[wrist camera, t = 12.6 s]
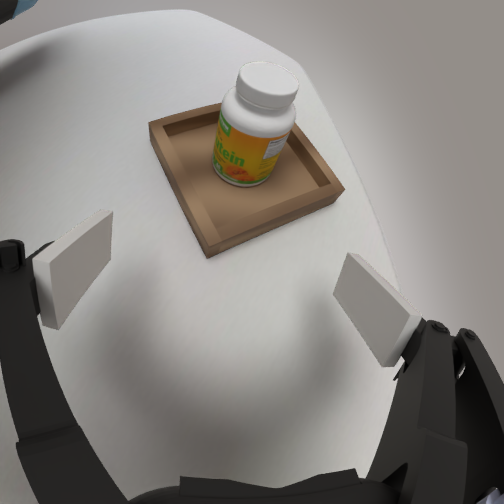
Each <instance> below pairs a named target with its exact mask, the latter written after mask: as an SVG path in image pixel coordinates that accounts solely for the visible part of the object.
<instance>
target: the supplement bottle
mask: <svg viewBox="0 0 504 504" xmlns="http://www.w3.org/2000/svg"><path fill="white" fill-rule="evenodd" d="M298 88H299V82H298V79H297V78H296V77H295V75H294V74H293V73H291V72H290V71H289V70H287V69H286V68H284V67H282V66H280V65H277V64H274V63H270V62H263V61H256V62H250V63H247V64H245V65H243V66H242V67H241V69H240V71H239V74H238V77H237V81H236V86H234V87H233V88H231V89H230V90H229V91H228V92H227V93H226V94H225V96H224V98H223V101H222V104H221V109H220V115H219V121H218V127H217V131H216V138H215V143H214V149H213V156H212V163H213V167H214V169H215V171H216V172H217V174H218V175H219V176H220V177H221V178H222V179H224V180H225V181H227V182H228V183H231V184H233V185H237V186H242V187H250V186H255V185H258V184H260V183H262V182H263V181H265V180H266V179H267V178H268V177H269V175H270V173H271V172H272V170H273V168H274V166H275V163H276V161H277V159H278V157H279V155H280V153H281V150H282V148H283V146H284V144H285V142H286V140H287V137H288V135H289V133H290V131H291V129H292V127H293V125H294V122H295V119H296V110H295V106H294V104H293V101H294V99H295V96H296V94H297V91H298Z"/></svg>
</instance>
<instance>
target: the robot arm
mask: <svg viewBox="0 0 504 504" xmlns="http://www.w3.org/2000/svg"><path fill="white" fill-rule="evenodd" d="M37 1H38V0H0V25H1V24H2V23H4V22H6V21H8V20H10V19H11V20H12V19H13V18H15V16H17V15H19V14H20V13H22V12H24V11H26V10H28V9H30V8H31V7H33V6H34V5H35V3H36V2H37ZM112 220H113V211H106V210H99V211H98V212H96V213H94V214H93V215H91V216H90V217H89V218H87V219H86V220H84V221H83V222H81V223H80V224H78V225H77V226H75V227H74V228H73V229H71V230H70V231H68V232H67V233H66V234H64V235H63V236H61V237H60V238H59V239H57V240H56V241H52V242H50V243H47V244H45V245H43V246H42V247H41V248H39V250H37V251H35V252H34V254H31V255H30V256H29V257H27V258H26V259H25V248H24V243H23V242H22V241H20V240H15V239H10V240H4V241H1V242H0V362H1V368H2V374H3V380H4V385H5V389H6V394H7V398H8V403H9V407H10V410H11V414H12V418H13V421H14V425H15V428H16V431H17V434H18V438H19V442H17V443H16V449H17V453H18V456H19V459H20V462H21V464H22V467H23V469H24V472H25V474H26V477H27V479H28V481H29V484H30V486H31V488H32V490H33V492H34V494H35V496H36V499H37V501H38V503H39V504H504V384H503V382H502V380H501V378H500V376H499V374H498V372H497V370H496V368H495V366H494V364H493V362H492V360H491V358H490V357H489V355H488V353H487V351H486V349H485V348H484V346H483V344H482V342H481V341H480V339H479V338H478V336H477V335H476V334H475V333H474V332H473V331H471V330H468V329H465V328H461V329H460V330H459V332H458V334H457V336H456V337H454V336H451V335H450V332H449V330H448V328H446V327H445V326H444V325H443V324H442V323H440V322H437V321H434V320H428V321H427V322H426V321H425V320H424V319H423V318H422V316H423V315H422V314H421V313H420V312H419V311H418V310H417V309H416V308H415V307H414V306H413V305H412V304H411V303H409V302H408V300H407V299H406V298H404V297H403V296H402V295H401V294H400V293H399V292H398V291H397V290H396V289H395V288H394V287H393V286H392V285H391V284H390V283H389V282H388V281H387V280H386V279H385V278H384V277H382V276H381V275H380V274H379V273H378V272H377V271H376V270H375V269H374V268H373V267H372V266H371V265H369V264H368V263H367V262H366V261H365V260H364V259H363V258H362V257H361V256H360V255H358V254H353V253H347V256H346V259H345V261H344V264H343V267H342V270H341V273H340V276H339V278H338V281H337V284H336V287H335V289H334V292H333V295H334V296H335V298H336V299H337V301H338V302H339V304H340V305H341V306H342V308H343V309H344V311H345V312H346V314H347V315H348V317H349V318H350V320H351V321H352V323H353V324H354V326H355V327H356V329H357V330H358V332H359V333H360V334H361V336H362V337H363V339H364V341H365V342H366V344H367V345H368V347H369V348H370V350H371V351H372V353H373V354H374V356H375V357H376V359H377V360H378V362H379V363H380V365H381V367H394V366H395V365H396V363H397V362H398V360H399V358H400V357H401V356H402V357H403V359H404V360H405V362H404V363H403V365H402V366H401V368H400V370H399V371H398V373H397V374H396V376H395V377H394V379H393V380H394V381H395V380H396V379H397V378H398V381H397V386H396V390H395V394H394V397H393V401H392V405H391V408H390V412H389V415H388V418H387V422H386V425H385V428H384V431H383V434H382V437H381V440H380V443H379V446H378V449H377V451H376V454H375V457H374V460H373V462H372V465H371V467H370V470H369V472H368V474H367V476H366V478H365V479H364V478H359V477H358V475H357V472H356V469H355V468H353V469H348V470H343V471H338V472H332V473H325V474H319V475H316V476H314V477H311V478H308V479H306V480H303V481H300V482H297V483H294V484H292V485H289V486H285V487H282V488H269V487H262V486H257V485H251V484H246V483H241V482H237V481H232V480H225V479H206V478H193V477H183V476H180V486H173V487H166V488H160V489H156V490H153V491H149V492H146V493H144V494H141V495H139V496H137V497H135V498H133V499H131V500H130V501H128V500H127V499H126V498H125V496H124V495H123V494H122V492H121V491H120V490H119V488H118V487H117V485H116V484H115V483H114V481H113V480H112V478H111V477H110V475H109V474H108V472H107V471H106V469H105V468H104V466H103V465H102V463H101V461H100V460H99V458H98V457H97V455H96V453H95V452H94V450H93V448H92V446H91V445H90V443H89V441H88V439H87V438H86V436H85V434H84V432H83V430H82V429H81V427H80V426H79V425H78V423H77V422H76V420H75V418H74V416H73V414H72V411H71V409H70V407H69V405H68V403H67V401H66V398H65V396H64V394H63V391H62V389H61V387H60V384H59V382H58V379H57V377H56V374H55V371H54V369H53V366H52V363H51V361H50V358H49V355H48V352H47V349H46V346H45V343H44V339H43V336H42V333H41V329H40V326H39V322H38V318H37V316H38V314H39V313H40V315H41V320H42V325H43V326H46V327H49V328H53V329H56V330H59V329H60V327H61V326H62V324H63V323H64V321H65V320H66V318H67V317H68V316H69V314H70V313H71V311H72V310H73V309H74V307H75V306H76V304H77V303H78V302H79V300H80V299H81V297H82V296H83V295H84V293H85V292H86V291H87V289H88V288H89V287H90V285H91V284H92V283H93V281H94V280H95V279H96V278H97V276H98V275H99V274H100V272H101V271H102V270H103V269H104V267H105V266H106V265H107V264H108V262H109V261H110V260H111V237H112ZM464 367H465V370H464V372H463V374H462V375H461V377H460V378H459V374H460V373H461V371H462V370H463V368H464ZM496 488H498V489H496Z"/></svg>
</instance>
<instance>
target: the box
mask: <svg viewBox="0 0 504 504" xmlns="http://www.w3.org/2000/svg"><path fill="white" fill-rule="evenodd" d="M221 104H222V103H218V104H214V105H209V106H205V107H201V108H197V109H193V110H189V111H185V112H182V113H178V114H174V115H171V116H167V117H164V118H161V119H158V120H154V121H151V122H148V123H149V134H150V141H151V144H152V146H153V148H154V150H155V152H156V155H157V157H158V159H159V161H160V163H161V166H162V168H163V170H164V172H165V174H166V176H167V178H168V181H169V183H170V185H171V187H172V189H173V191H174V193H175V195H176V197H177V199H178V202H179V204H180V206H181V208H182V210H183V212H184V214H185V216H186V218H187V220H188V222H189V224H190V226H191V228H192V230H193V232H194V234H195V236H196V238H197V240H198V242H199V244H200V246H201V248H202V250H203V252H204V254H205V256H206V258H209V257H212V256H214V255H216V254H218V253H221V252H223V251H225V250H227V249H230V248H232V247H234V246H236V245H239V244H241V243H243V242H245V241H248V240H250V239H252V238H254V237H257V236H259V235H261V234H263V233H266V232H268V231H270V230H273V229H275V228H277V227H279V226H282V225H284V224H286V223H288V222H291V221H293V220H295V219H298V218H300V217H302V216H305V215H307V214H309V213H311V212H314V211H316V210H318V209H321V208H323V207H325V206H328V205H330V204H332V203H334V202H335V200H336V199H337V198H338V197H339V196H340V195H341V194H342V193H343V191H344V190H345V188H344V187H343V186H342V184H341V183H340V181H339V180H338V178H337V177H336V176H335V174H334V173H333V171H332V170H331V169H330V167H329V166H328V164H327V163H326V162H325V160H324V159H323V158H322V156H321V155H320V154H319V152H318V151H317V150H316V148H315V147H314V146H313V145H312V143H311V142H310V141H309V139H308V138H307V137H306V136H305V134H304V133H303V132H302V130H301V129H300V128H299V127H298V126H297V124H296V123H295V122H294V125H293V127H292V129H291V131H290V133H289V135H288V137H287V140H286V142H285V144H284V146H283V148H282V150H281V153H280V155H279V157H278V159H277V161H276V163H275V166H274V168H273V170H272V172H271V173H270V175H269V177H268V178H267V179H266V180H265V181H263V182H262V183H260V184H258V185H255V186H250V187H242V186H237V185H233V184H231V183H228V182H227V181H225V180H224V179H222V178H221V177H220V176H219V175H218V174H217V172H216V171H215V169H214V167H213V163H212V156H213V149H214V143H215V138H216V131H217V127H218V121H219V115H220V109H221Z"/></svg>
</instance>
